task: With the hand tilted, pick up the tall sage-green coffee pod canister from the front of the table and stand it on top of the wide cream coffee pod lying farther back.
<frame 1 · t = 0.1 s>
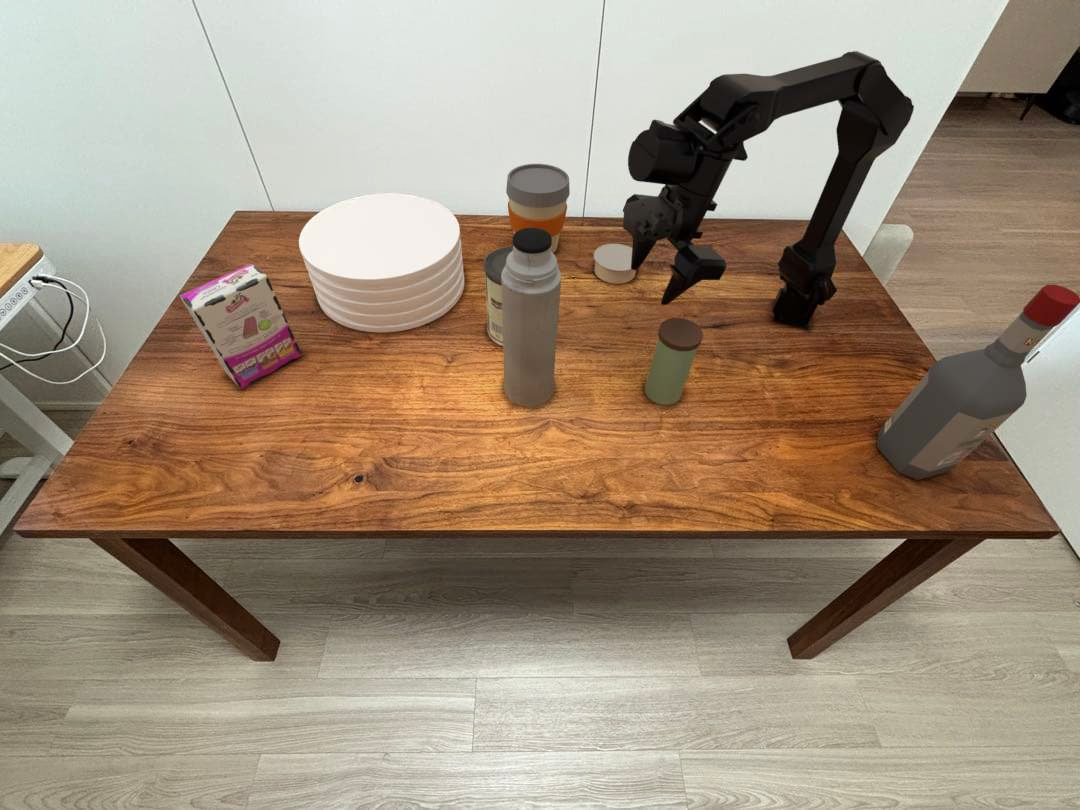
hand: (648, 286, 81), 15 cm above the table, tool pointing down, fingers open, 9 cm apart
coffee pod: (614, 271, 110), on the table
liquor: (909, 454, 82), on the table
candy bar box: (265, 366, 89), on the table
reusable coffee cup: (536, 246, 115), on the table
pod canister: (662, 391, 88), on the table
thermos bottle: (528, 389, 88), on the table
plate stack: (392, 285, 105), on the table
coffee can: (515, 330, 97), on the table
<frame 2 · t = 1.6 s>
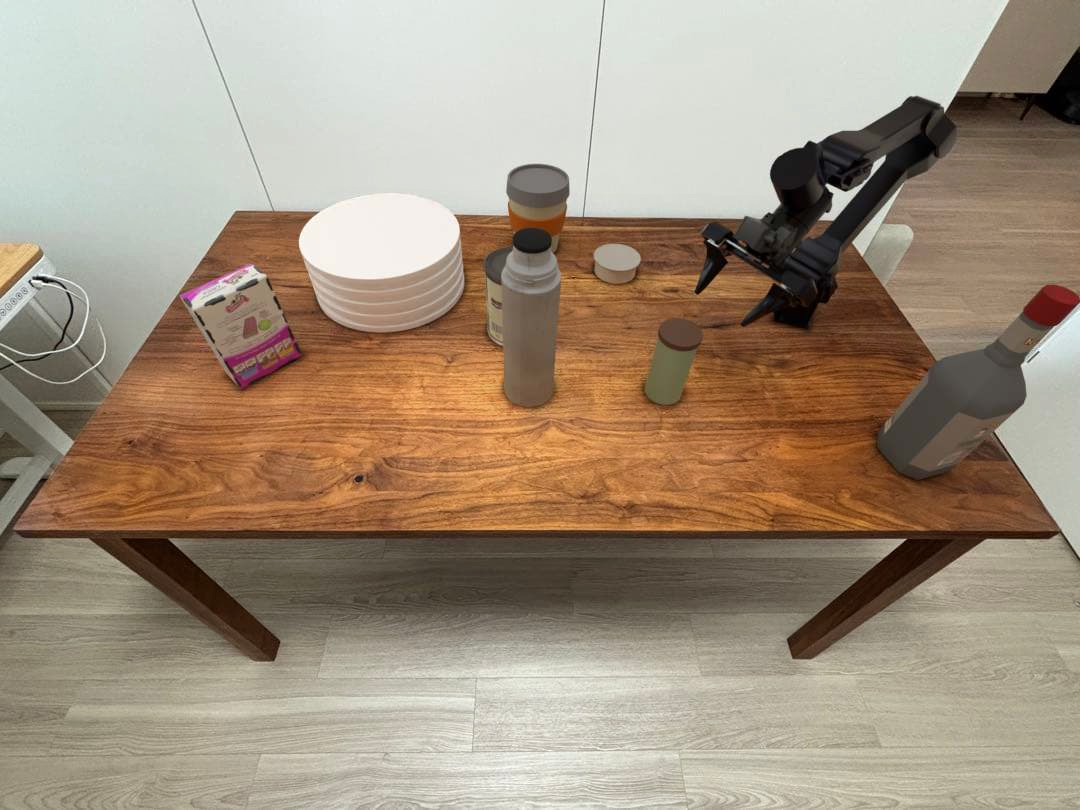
hand: (718, 309, 81), 13 cm above the table, tool tilted 45°, fingers open, 9 cm apart
nothing on the table moved.
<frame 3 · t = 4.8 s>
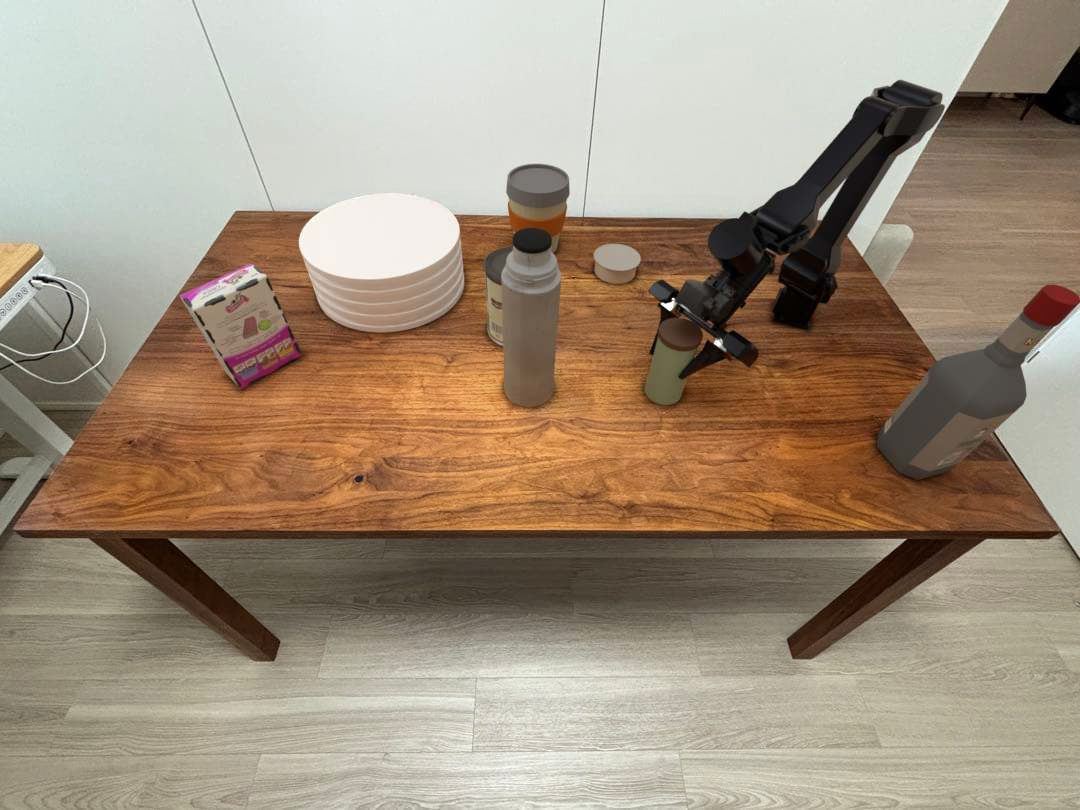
hand: (665, 366, 83), 7 cm above the table, tool tilted 45°, fingers closed on pod canister, 6 cm apart
pod canister: (662, 391, 88), on the table, touching gripper
everything else where it was.
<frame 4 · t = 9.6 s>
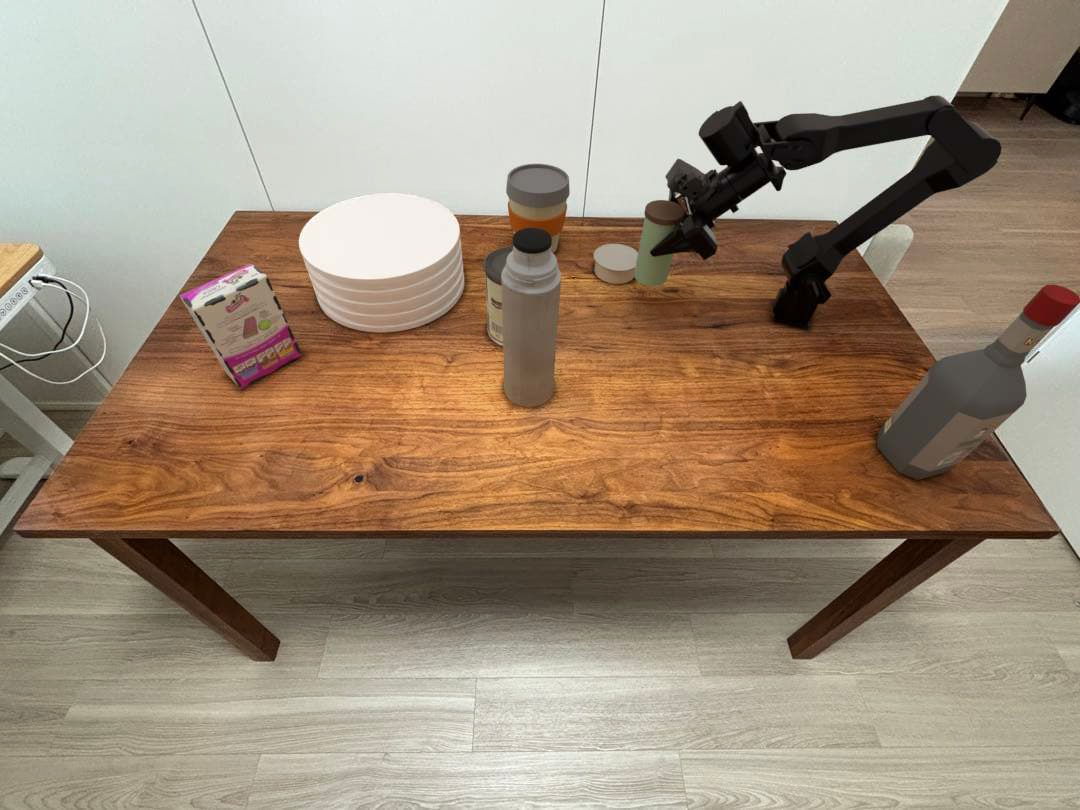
hand: (649, 243, 92), 14 cm above the table, tool tilted 45°, fingers closed on pod canister, 6 cm apart
pod canister: (650, 276, 97), point 7 cm above the table, touching gripper
everything else where it was.
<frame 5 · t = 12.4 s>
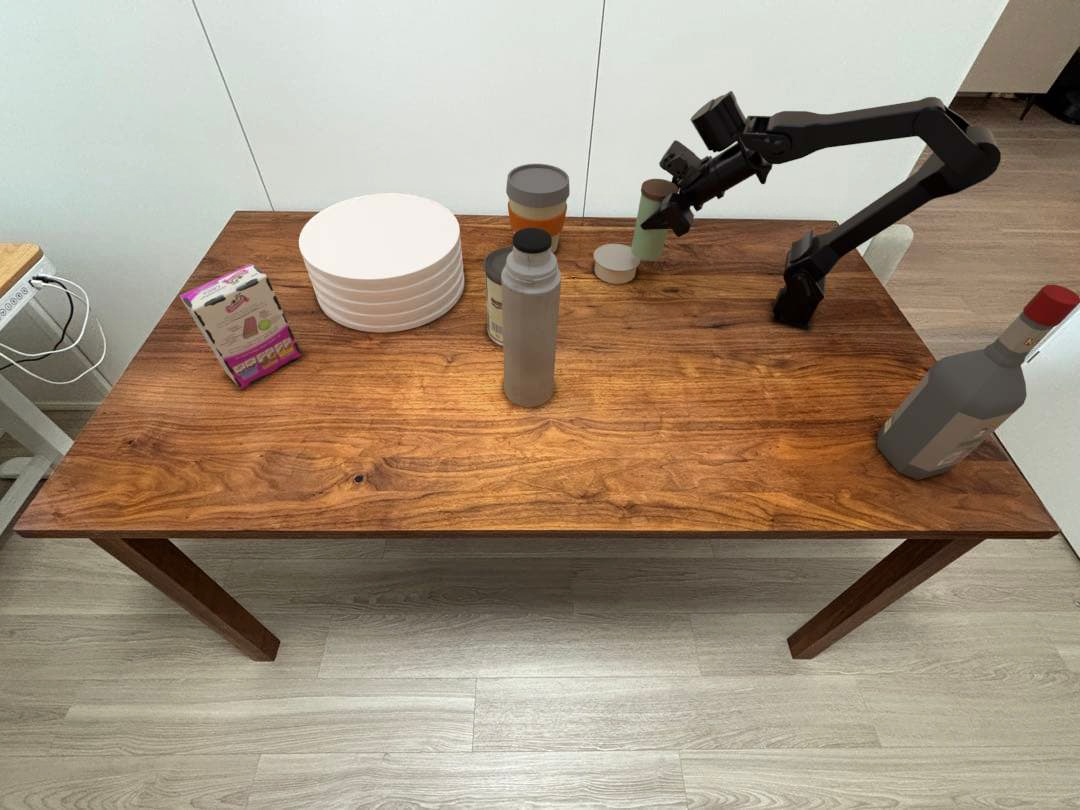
hand: (645, 218, 99), 13 cm above the table, tool tilted 45°, fingers closed on pod canister, 6 cm apart
pod canister: (646, 251, 104), point 6 cm above the table, touching gripper
everything else where it was.
when the fingers open (10 cm above the table, at t = 14.8 s): pod canister stays where it is, resting on coffee pod.
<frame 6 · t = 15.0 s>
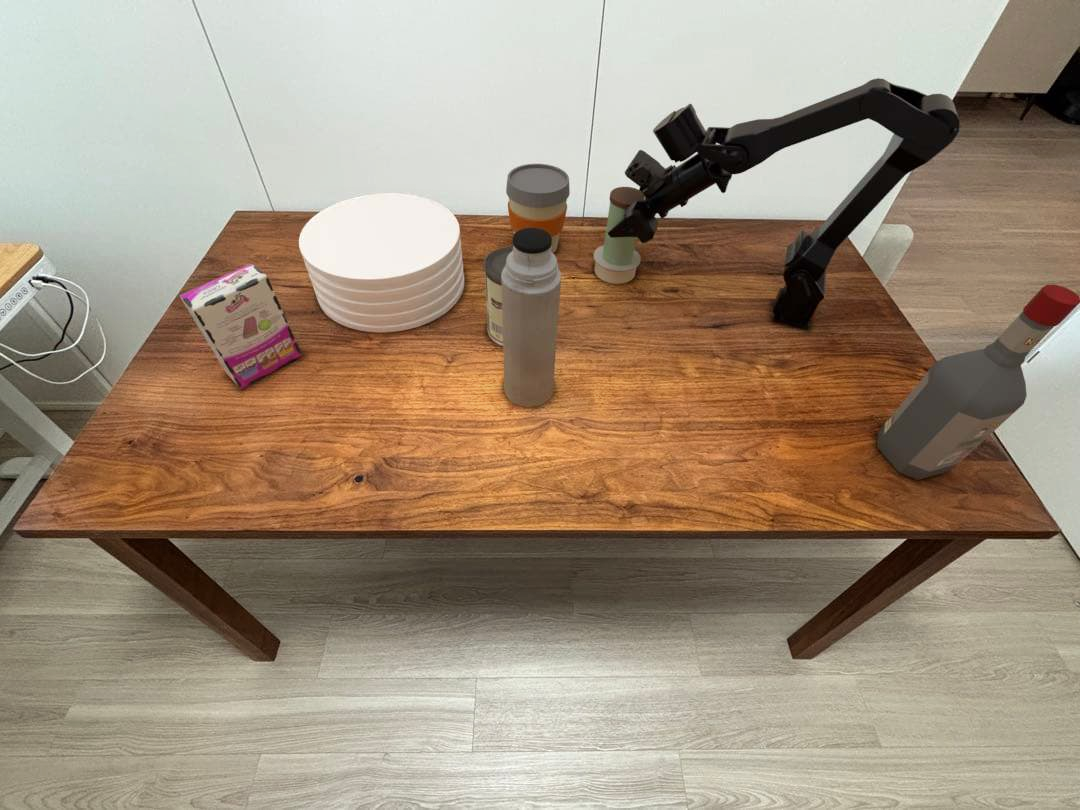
hand: (614, 225, 103), 10 cm above the table, tool tilted 45°, fingers open, 7 cm apart
coffee pod: (614, 271, 110), on the table, touching pod canister
pod canister: (617, 256, 107), point 4 cm above the table, touching coffee pod
everything else where it was.
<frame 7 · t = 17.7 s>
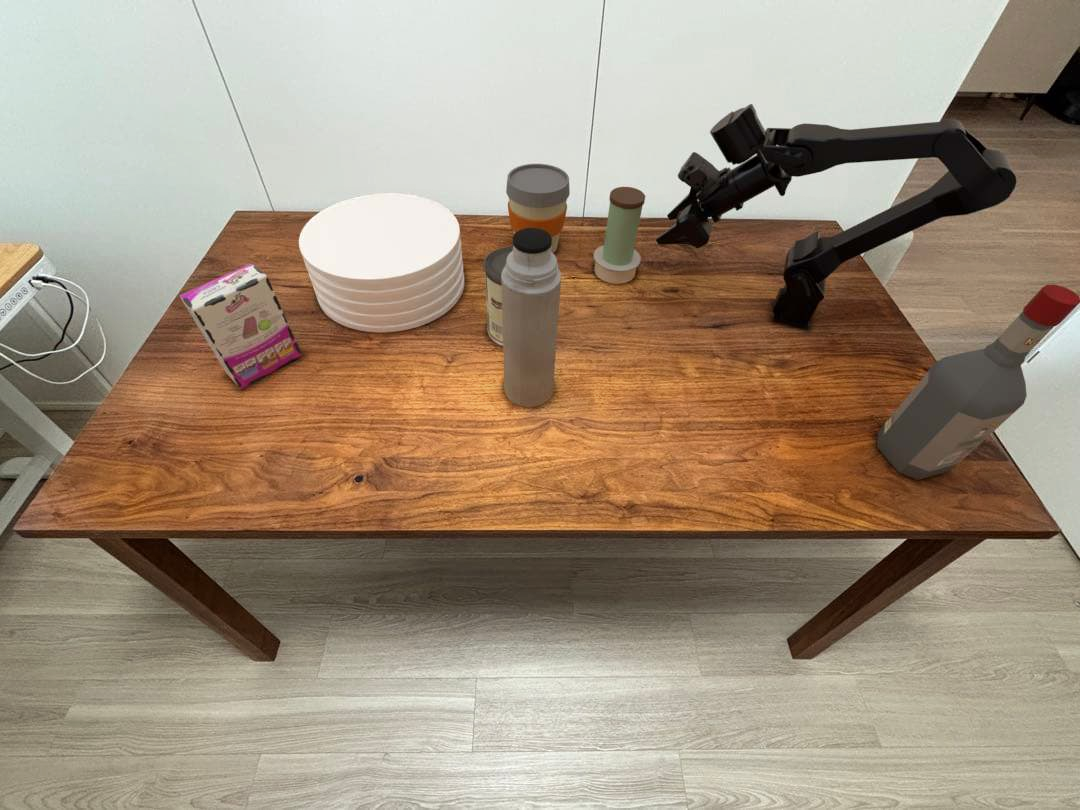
hand: (662, 229, 100), 11 cm above the table, tool tilted 45°, fingers open, 9 cm apart
nothing on the table moved.
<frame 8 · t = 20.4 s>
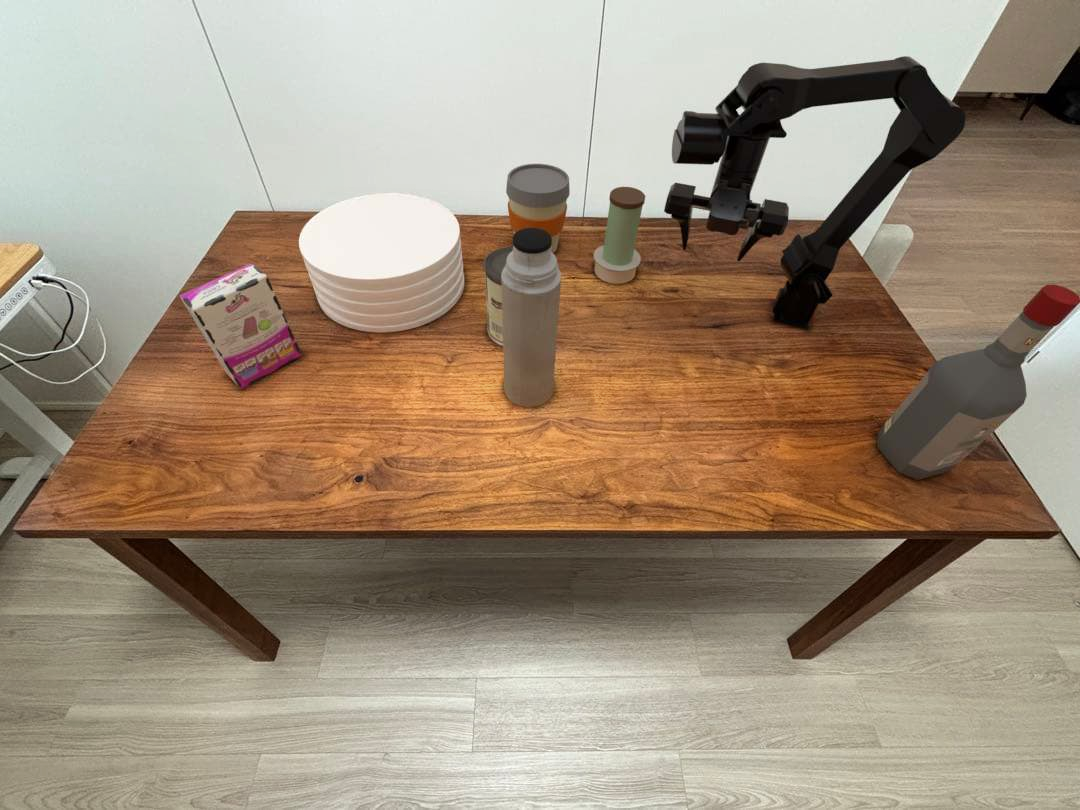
hand: (711, 254, 92), 13 cm above the table, tool pointing down, fingers open, 9 cm apart
nothing on the table moved.
at the end: pod canister 0.1 cm off-centre on the coffee pod, point 3.5 cm above the coffee pod's base; pod canister tilted 0°; the gripper is holding nothing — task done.
